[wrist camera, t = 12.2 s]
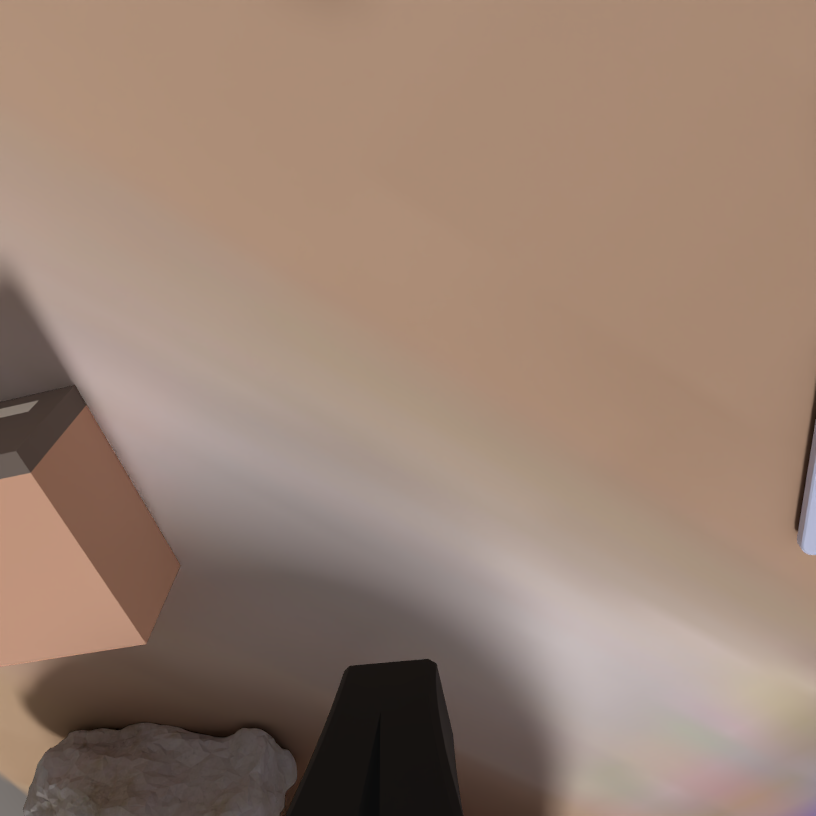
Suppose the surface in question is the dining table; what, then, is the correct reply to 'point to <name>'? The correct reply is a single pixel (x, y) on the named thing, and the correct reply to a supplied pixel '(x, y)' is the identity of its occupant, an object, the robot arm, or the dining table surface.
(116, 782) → the stone
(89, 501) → the tan cuboid
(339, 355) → the dining table surface
